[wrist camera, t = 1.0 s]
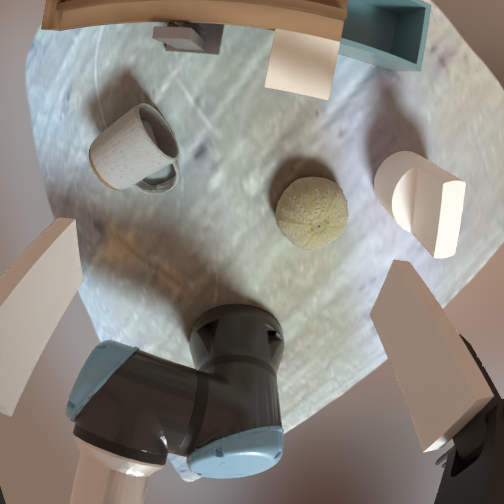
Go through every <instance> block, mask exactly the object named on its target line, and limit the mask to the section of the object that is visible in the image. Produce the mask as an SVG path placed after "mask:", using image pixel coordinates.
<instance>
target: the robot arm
mask: <svg viewBox="0 0 504 504" xmlns="http://www.w3.org/2000/svg"><path fill="white" fill-rule="evenodd" d="M82 282H83V276H82V269H81V262H80V255H79V247H78V239H77V229H76V219H71V218H63V217H58V218H57V219H56V220H55V221H54V222H53V223H52V224H51V225H50V226H49V227H48V228H47V229H46V230H45V231H44V232H43V233H42V234H41V235H40V236H39V237H38V238H37V239H36V240H35V241H34V242H33V243H32V244H31V245H30V246H29V247H28V248H27V249H26V250H25V251H24V252H23V253H22V254H21V255H20V256H19V257H18V259H17V260H16V261H15V262H14V263H13V264H12V265H11V266H10V267H9V268H8V270H7V271H6V272H5V273H4V274H3V275H2V277H1V278H0V412H1V413H3V414H6V415H8V416H12V413H13V411H14V409H15V406H16V404H17V402H18V400H19V398H20V396H21V393H22V391H23V389H24V387H25V385H26V383H27V381H28V379H29V376H30V374H31V373H32V371H33V369H34V366H35V365H36V363H37V361H38V359H39V357H40V355H41V353H42V351H43V349H44V347H45V346H46V344H47V341H48V340H49V338H50V336H51V335H52V333H53V331H54V329H55V327H56V325H57V324H58V322H59V320H60V319H61V317H62V315H63V313H64V312H65V310H66V308H67V307H68V305H69V303H70V302H71V300H72V298H73V297H74V295H75V293H76V292H77V290H78V289H79V287H80V285H81V284H82ZM370 316H371V319H372V321H373V323H374V326H375V328H376V330H377V333H378V335H379V337H380V340H381V342H382V344H383V347H384V349H385V352H386V354H387V357H388V359H389V361H390V364H391V366H392V369H393V371H394V374H395V376H396V379H397V382H398V384H399V387H400V389H401V392H402V394H403V397H404V400H405V403H406V405H407V408H408V411H409V413H410V416H411V419H412V422H413V425H414V427H415V430H416V433H417V436H418V439H419V442H420V445H421V448H422V451H423V452H427V451H431V450H435V449H440V448H442V447H443V446H444V445H445V444H446V443H447V442H448V441H450V440H451V439H453V441H454V444H455V445H454V446H453V447H452V448H451V449H449V450H448V451H447V452H446V453H445V454H444V455H442V456H441V457H440V458H439V459H438V460H437V462H436V463H435V464H436V465H439V464H440V463H441V462H442V461H444V460H445V459H446V458H447V461H446V462H445V463H444V464H443V465H442V467H443V468H445V469H444V472H443V476H442V479H441V483H440V486H439V489H438V493H437V496H436V499H435V502H434V504H504V399H501V397H500V395H499V393H498V391H497V390H496V388H495V386H494V384H493V382H492V380H491V379H490V377H489V375H488V373H487V372H486V370H485V368H484V367H483V366H482V363H481V361H480V360H479V358H478V357H477V355H476V353H475V351H474V350H473V348H472V346H471V345H470V343H468V342H467V341H466V339H465V338H464V337H462V336H461V335H460V334H458V332H457V331H456V329H455V328H454V326H453V324H452V323H451V321H450V320H449V318H448V317H447V315H446V314H445V312H444V311H443V309H442V307H441V306H440V304H439V303H438V301H437V300H436V299H435V297H434V296H433V294H432V293H431V291H430V290H429V288H428V287H427V286H426V284H425V283H424V281H423V280H422V278H421V277H420V276H419V274H418V273H417V271H416V270H415V269H414V267H413V266H412V265H411V263H410V262H407V261H400V260H393V263H392V265H391V267H390V270H389V272H388V275H387V277H386V279H385V282H384V284H383V286H382V288H381V291H380V293H379V295H378V297H377V300H376V302H375V304H374V306H373V308H372V310H371V313H370ZM190 351H191V355H192V358H193V362H194V365H195V368H196V369H194V368H190V367H187V366H184V365H181V364H178V363H174V362H172V361H169V360H166V359H163V358H160V357H157V356H155V355H152V354H149V353H147V352H144V351H141V350H139V348H138V347H131V346H128V345H125V344H122V343H119V342H116V341H112V340H106V341H103V342H101V343H99V344H98V345H97V346H96V347H95V349H94V350H93V351H92V352H91V354H90V355H89V357H88V359H87V360H86V362H85V364H84V366H83V368H82V369H81V371H80V373H79V375H78V377H77V379H76V382H75V384H74V386H73V389H72V391H71V394H70V396H69V401H68V404H67V406H66V416H67V417H68V418H69V419H70V421H72V422H75V427H74V431H73V435H72V436H73V438H74V440H75V441H76V443H77V445H78V447H79V448H80V451H81V455H80V459H79V463H78V468H77V472H76V476H75V481H74V486H73V491H72V496H71V501H70V504H143V501H144V496H145V492H146V487H147V483H148V479H149V475H151V474H152V473H153V472H155V471H157V470H159V469H161V468H163V467H164V466H165V463H166V459H167V455H168V453H172V454H176V455H180V456H185V457H187V462H186V463H187V464H188V468H189V469H190V470H191V471H192V472H193V473H197V474H198V475H200V476H204V477H210V478H238V477H244V476H249V475H253V474H257V473H260V472H263V471H265V470H267V469H269V468H271V467H272V466H273V465H275V464H276V463H277V462H278V461H279V460H280V458H281V456H282V453H283V433H284V430H283V428H282V422H281V413H280V404H279V395H278V386H277V376H276V374H277V371H278V368H279V364H280V361H281V358H282V355H283V351H284V338H283V332H282V328H281V326H280V324H279V323H278V321H277V320H276V319H275V318H274V317H273V316H271V315H270V314H269V313H267V312H265V311H263V310H261V309H259V308H256V307H252V306H248V305H237V304H235V305H225V306H220V307H217V308H214V309H211V310H209V311H207V312H206V313H204V314H203V315H201V316H200V317H199V318H198V319H197V320H196V322H195V323H194V325H193V327H192V330H191V336H190ZM0 504H6V503H5V500H4V497H3V494H2V491H1V487H0Z"/></svg>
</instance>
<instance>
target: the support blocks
mask: <svg viewBox="0 0 504 504" xmlns="http://www.w3.org/2000/svg"><path fill="white" fill-rule="evenodd" d="M224 25H225V24H213V23H195V22H170V27H154V32H153V38H154V39H156V40H159V41H161V42H163V43H165V44H167V45H166V51H176V52H192V53H204V54H214V55H219V53H220V47H221V42H222V36H223V31H224Z"/></svg>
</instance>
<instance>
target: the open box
mask: <svg viewBox="0 0 504 504" xmlns="http://www.w3.org/2000/svg"><path fill="white" fill-rule="evenodd" d="M346 10H348V13H347V18H346V19H345V21H344V24H343V29H342V35H341V40H340V45H339V50H338V54H340V55H344V56H347V57H351V58H354V59H357V60H361V61H364V62H367V63H370V64H373V65H376V66H379V67H382V68H385V69H387V70H390V71H419V72H420V71H421V66H422V61H423V55H424V50H425V44H426V38H427V31H428V24H429V17H430V10H431V5H430V4H428V3H426V2H424V1H422V0H348V2H347V7H346Z"/></svg>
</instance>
